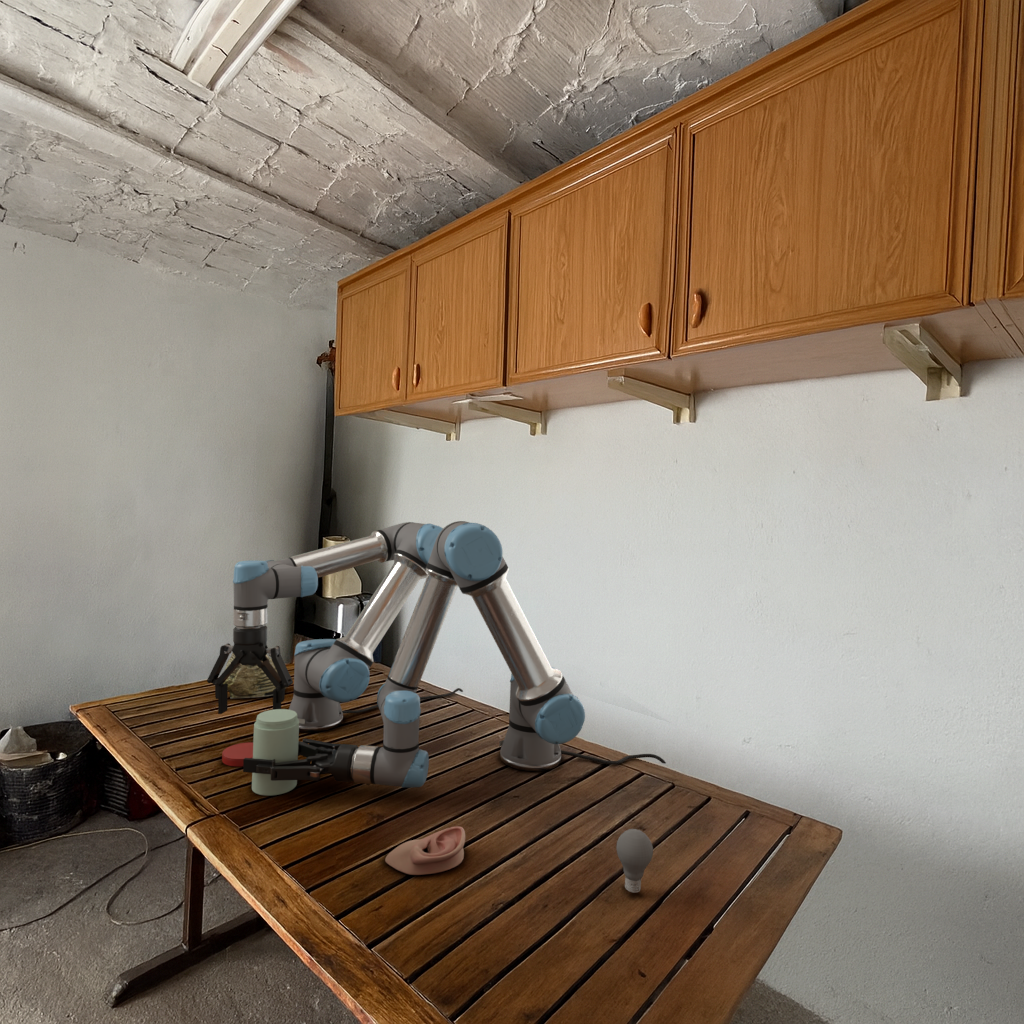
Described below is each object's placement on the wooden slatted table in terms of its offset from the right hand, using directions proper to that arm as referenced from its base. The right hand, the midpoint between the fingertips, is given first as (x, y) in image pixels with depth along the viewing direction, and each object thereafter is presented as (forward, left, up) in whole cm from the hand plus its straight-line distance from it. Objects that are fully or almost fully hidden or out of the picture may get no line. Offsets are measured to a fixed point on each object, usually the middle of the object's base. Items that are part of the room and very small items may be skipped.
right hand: (255, 755), depth 138 cm
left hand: (+2, -15, +4) cm, 16 cm away
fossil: (+3, -65, -6) cm, 65 cm away
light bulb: (-61, +57, -6) cm, 83 cm away
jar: (-4, +2, -6) cm, 8 cm away
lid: (+3, -15, -5) cm, 16 cm away
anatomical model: (-30, +38, -6) cm, 49 cm away
